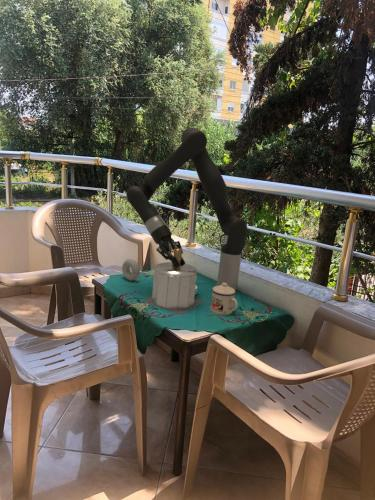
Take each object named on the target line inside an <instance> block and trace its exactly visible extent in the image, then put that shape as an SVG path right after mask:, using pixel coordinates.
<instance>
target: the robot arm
mask: <svg viewBox="0 0 375 500" xmlns="http://www.w3.org/2000/svg"><path fill="white" fill-rule="evenodd" d="M180 141H181V142H180V143H181V144H180V145H179V146H178V148H177V149H175V150H174V151H173V152H172V153H171V154H170V155H169V156H167V157H166V158H165V159H162V161H160V162H158V163H157V164H156V165H155V166H154V167H152V169H151V170H150V171H148V173H147V174H146V175H145V176H144V177H143V182H142V184H141V185H140V186H138V185H131V186H130V187H128V188H127V190H126V194H125V195H126V199H127V202H128V203H129V205H130V206H131V207H132V208H133V209H134V211H136V213H137V214H138V215H139V217H140V219H141V220H142V222H143V224H144V225H145V228H146V230H147V231H148V234H149V235H150V236H151V238H152V240H153V242H154V243H155V244H156V245H158V247H157V248H156V251H157V252H158V253H159V255H161V257H163V258H164V259H165V260H166V261H167V260H169V261H170V262H172V263H173V265H174V266H175V268H178V267H179V266H180V264H179V262H178V260H177V259H176V257H175V256H174V248H181V249H182V254H183V253H184V251H183V248H182V246H181V242H180V241H179V240H177V241H175V240H174V239H173V238H172V236H173V233H172V231H171V230H170V228H169V227H168V225H167V223H166V222H165V220H164V219H163V217H161V215H160V213H159V212H158V211H157V209H156V208H155V206H154V205H153V204H152V203H151V202H150V200H151V198H152V197H153V195H155V193H156V191H157V189H159V188H160V187H161V186H162V185H163V184H164V183H165V182H166V181H167V180H168V179H169V178H171V176H173V174H174V173H176V172H177V171H178V170H179V169H180V168H181V167H182V166H184V165H185V164H186V163H187V162H189V161H190V160H191V161H192V163H193V165H194V166H193V167H194V169H195V171H196V174H197V176H198V179H199V182H200V184H201V186H202V189H203V191H204V194H205V195H206V197H207V199H208V201H209V203H210V205H211V207H212V209H213V211H214V213H215V215H216V218H217V221H218V224H219V227H220V229H221V232H222V233H223V234H224V235H225V236H227V239H226V243H224V244H222V245H221V248H220V249H221V250H220V258H219V265H218V272H217V273H218V274H217V281H216V286H219V285H222V283H227V286H229V287H231V288H233V289H234V290H235V292H236V291H237V289H238V285H239V284H238V283H239V276H240V275H239V274H240V268H241V259H242V253H243V250H244V249H245V244H246V240H247V236H248V235H247V234H248V224H247V222H246V221H245V220H244V219H243V218H241V217H237V216H236V215H235V213H234V212H233V210H232V208H231V206H230V203H229V191H228V187H227V185H226V182H225V180H224V178H223V175H222V174H221V172H220V170H219V169H218V167H217V165H216V164H215V162H214V161H213V159H212V158H211V156H210V154H209V152H208V150H207V145H208V139H207V136H206V134H205V132H204V131H202V130H201V129H199V128H196V127H187V128H186V129H184V131H183V132H182V134H181V136H180ZM174 257H175V258H174ZM185 264H186V261H185V260H184V258H183V256H181V266H183V265H185Z"/></svg>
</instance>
